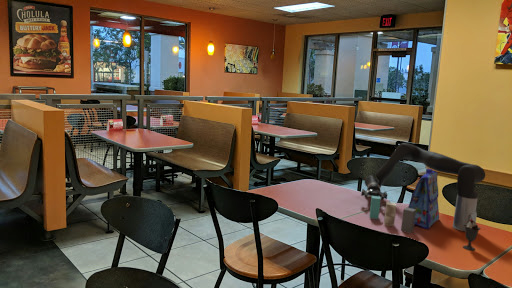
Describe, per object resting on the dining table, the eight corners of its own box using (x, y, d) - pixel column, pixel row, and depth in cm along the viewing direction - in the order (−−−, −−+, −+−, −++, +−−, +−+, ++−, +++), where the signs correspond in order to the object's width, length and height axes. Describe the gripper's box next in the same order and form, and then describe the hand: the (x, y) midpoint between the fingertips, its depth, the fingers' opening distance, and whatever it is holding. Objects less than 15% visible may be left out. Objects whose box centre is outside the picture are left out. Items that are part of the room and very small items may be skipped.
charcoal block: (413, 230, 202) (416, 209, 200) (410, 233, 198) (412, 211, 197) (404, 228, 205) (406, 207, 203) (400, 230, 201) (403, 209, 199)
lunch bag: (429, 230, 205) (436, 174, 200) (401, 223, 213) (408, 168, 208) (439, 219, 222) (447, 167, 217) (414, 213, 230) (420, 163, 225)
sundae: (462, 244, 189) (467, 212, 186) (478, 248, 185) (483, 216, 182) (458, 248, 184) (463, 216, 181) (475, 252, 179) (480, 220, 177)
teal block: (378, 216, 220) (380, 196, 219) (378, 219, 216) (380, 199, 214) (369, 215, 221) (371, 195, 220) (369, 217, 217) (371, 197, 215)
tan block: (393, 223, 210) (395, 203, 209) (393, 226, 206) (396, 205, 204) (384, 222, 212) (386, 201, 210) (384, 225, 207) (386, 204, 205)
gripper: (362, 182, 245) (362, 189, 229) (386, 185, 242) (388, 192, 226) (360, 194, 246) (360, 202, 231) (385, 197, 243) (386, 205, 227)
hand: (374, 197), depth 228 cm, fingers open, 8 cm apart
